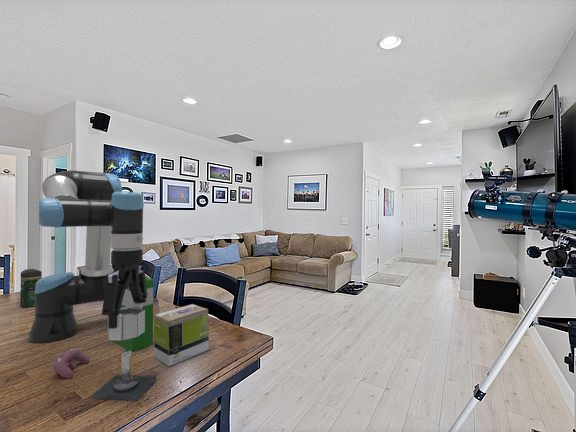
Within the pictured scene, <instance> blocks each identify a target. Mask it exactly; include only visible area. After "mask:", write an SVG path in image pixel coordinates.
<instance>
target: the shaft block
mask: <svg viewBox="0 0 576 432" xmlns="http://www.w3.org/2000/svg"><path fill="white" fill-rule="evenodd" d="M132 353H133V352H132V351H131V350H127V349H125V350H123V351H121V358H120V359H121V360H120V361H121V363H120V364H121V367H120V368H121V373H120V374H116V375H114V376H113V377H112V378H110V379H109V380H108V381H107V382H105V384H103V385H102V386H101V387H99V388H98V389H97V390H96V391H95V392H93V393H92V399H98V400H114V401H128V402H138V401H140V399H141V398H142V397H143V396H144V395H145V394H146V393H147V391H149V389H151V388H152V386H153V385H154V384H155V383H156V382H157V376H145V375H143V376H142V375H134V355H133V354H132Z"/></svg>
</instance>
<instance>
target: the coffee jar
mask: <svg viewBox="0 0 576 432" xmlns="http://www.w3.org/2000/svg"><path fill="white" fill-rule="evenodd" d="M42 273H43V272H42V270H39V269H35V268H28V269H27V268H26V269H24V270H22V271H21V272H20V297H19V300H20V302H19V303H20V307H22V306H24V307H23V308H28V307H27V306H33V305H35V288H36V282H37V281H38V280H39V279H41V278H43V277H42V275H43V274H42Z"/></svg>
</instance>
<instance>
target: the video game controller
mask: <svg viewBox="0 0 576 432" xmlns="http://www.w3.org/2000/svg"><path fill="white" fill-rule="evenodd" d="M78 363H80V364H81V363H82V364H89V363H90V357H89V356H88V355H86V354H85V353H83V352H82V351H81V350H80V349H77V348H76V347H75V348H71V349H68V350H66V351H64V352H62V353H61V354H59V355H58V356H57V358H56V359H55V360H54V361H52V364H51V367H52V370H53V372H55V373H58V375H60V376H62V378H65V379H71V378H73V377H74V372H73V371H72V369H74V368H76V367H77V366H78Z"/></svg>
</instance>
